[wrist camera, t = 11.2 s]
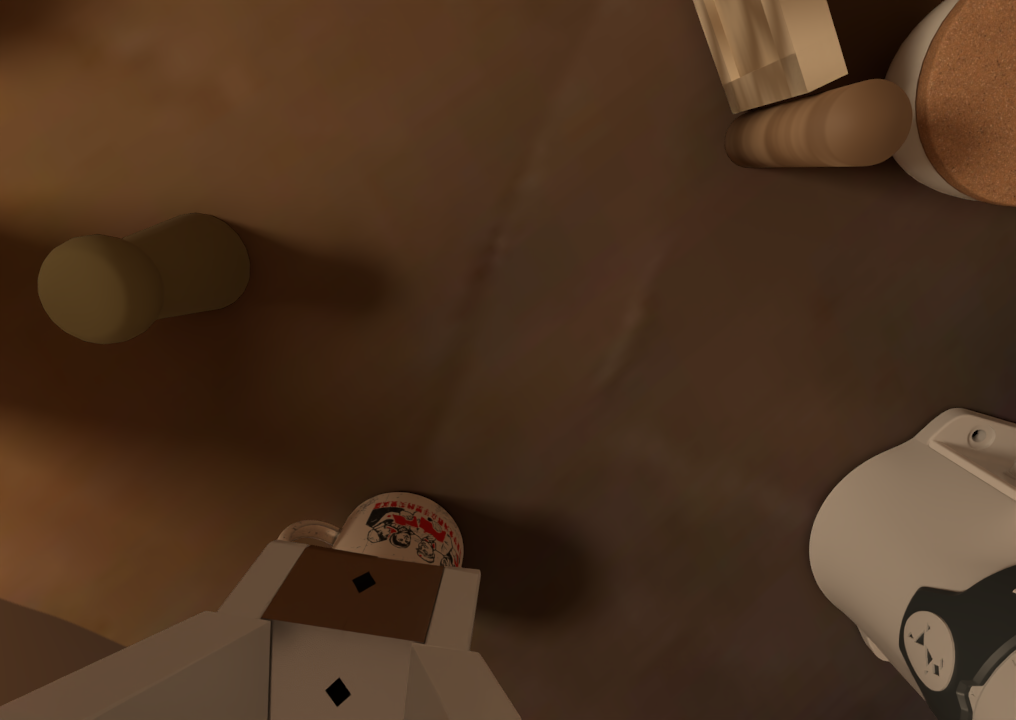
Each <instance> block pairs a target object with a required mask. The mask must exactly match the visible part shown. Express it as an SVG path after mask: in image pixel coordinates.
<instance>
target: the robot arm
mask: <svg viewBox="0 0 1016 720" xmlns="http://www.w3.org/2000/svg"><path fill="white" fill-rule="evenodd" d="M976 430H978V433H977V434H976V435H975V436H974V437H972V434H973V433H974V432H975V431H976ZM809 556H810V564H811V568H812V572H813V575H814V577H815V580H816V582H817V584H818V586H819V587H820V589H821V590H822V592H823V593H824V595H825V596H826V597H827V598H828V599H829V600H830V601H831V602H832V603H833V604H834V605H835V606H836V607H837V608H838V609H840V610H841V611H842V612H843V613H844V614H845V615H847V616H848V617H849V618H850V619H851V620H852V621H853V622H854V623H855V624H856V625H857V626H858V629H859V631H860V633H861V635H862V638H863V639H864V641H865V643H866V644H867V646H868V647H869V648H870V649H871V650H872V652H873V653H874V654H875V655H876V656H877V657H878V658H880V659H881V660H884V661H890V662H891V664H892V665H893V666H894V667H895V668H896V669H897V670H898V671H899V672H900V673H901V675H902V676H903V677H904V678H905V679H906V680H907V681H908V682H909V683H910V685H911V686H912V687H913V688H914V689H915V690H916V691H917V692H918V693H919V694H920V696H921V697H922V698H923V699H924V700H925V701H926V702H927V704H928V706H929V708H930V709H931V711H932V712H933V713H934V715H935V716H936V717H937V719H938V720H1016V424H1015V423H1011V422H1008V421H1005V420H1001V419H998V418H995V417H991V416H988V415H985V414H981V413H978V412H974V411H971V410H968V409H964V408H953V409H949V410H947V411H945V412H943V413H942V414H940V415H939V416H937V417H936V418H935V419H934V420H932V421H931V422H930V423H929V424H928V425H927V426H926V427H924V428H923V429H922V430H921V431H920V432H919V433H918V434H917V435H916V436H915V437H914V438H912V439H911V440H909V441H907V442H905V443H903V444H901V445H899V446H897V447H894V448H892V449H890V450H887V451H885V452H883V453H881V454H879V455H877V456H875V457H873V458H871V459H869V460H867V461H866V462H864V463H863V464H861V465H860V466H858V467H857V468H856V469H854V470H853V471H852V472H850V473H849V474H848V475H847V476H846V477H845V478H843V479H842V480H841V481H840V482H839V483H838V485H837V486H836V487H835V488H834V489H833V490H832V492H831V493H830V494H829V495H828V497H827V498H826V500H825V501H824V503H823V505H822V506H821V508H820V510H819V512H818V514H817V516H816V519H815V521H814V524H813V528H812V532H811V536H810V545H809ZM480 577H481V572H480V570H478V569H470V568H461V567H452V566H446V567H444V566H437V565H430V564H423V563H416V562H409V561H401V560H394V559H387V558H380V557H378V556H372V555H367V554H361V553H355V552H349V551H344V550H338V549H332V548H326V547H321V546H315V545H310V546H309V545H307V544H303V543H296V542H289V541H283V540H274V541H272V542H270V543H269V544H268V545H267V546H266V547H265V549H264V550H263V551H262V553H261V554H260V555H259V557H258V558H257V559H256V561H255V562H254V563H253V565H252V566H251V567H250V569H249V570H248V571H247V572H246V574H245V575H244V576H243V578H242V579H241V580H240V582H239V583H238V584H237V586H236V587H235V588H234V590H233V591H232V592H231V594H230V595H229V596H228V598H227V599H226V600H225V602H224V603H223V604H222V605H221V607H220V608H219V609H218V611H217V612H209V611H204V612H202V613H200V614H198V615H196V616H193V617H191V618H189V619H187V620H185V621H183V622H181V623H178V624H176V625H174V626H172V627H170V628H168V629H166V630H163V631H161V632H159V633H157V634H155V635H153V636H151V637H148V638H146V639H144V640H142V641H140V642H138V643H136V644H133V645H131V646H129V647H127V648H125V649H123V650H120V651H118V652H116V653H114V654H112V655H110V656H108V657H106V658H104V659H101V660H99V661H97V662H95V663H93V664H91V665H88V666H87V667H84V668H82V669H80V670H78V671H76V672H73V673H71V674H69V675H67V676H65V677H63V678H60V679H58V680H56V681H54V682H52V683H50V684H48V685H45V686H43V687H41V688H39V689H37V690H35V691H33V692H30V693H28V694H27V695H24V696H22V697H20V698H18V699H15V700H13V701H11V702H9V703H7V704H5V705H3V706H0V720H522V719H521V717H520V716H519V714H518V713H517V711H516V710H515V708H514V706H513V705H512V703H511V702H510V700H509V699H508V697H507V695H506V694H505V692H504V691H503V689H502V688H501V686H500V684H499V683H498V681H497V680H496V678H495V677H494V675H493V673H492V672H491V670H490V669H489V667H488V666H487V664H486V662H485V661H484V659H483V658H482V656H481V655H480V653H477V652H471V651H470V647H471V640H472V633H473V626H474V619H475V612H476V605H477V598H478V591H479V584H480Z"/></svg>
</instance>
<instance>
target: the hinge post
mask: <svg viewBox="0 0 1016 720" xmlns="http://www.w3.org/2000/svg"><path fill="white" fill-rule="evenodd" d="M912 116H913V115H912V106H911V103H910V100H909V98H908V96H907V94H906V93H905V92H904V90H903V89H902V88H901V87H900V86H898V85H897V84H895V83H893V82H891V81H888V80H884V79H870V80H866V81H862V82H858V83H854V84H851V85H847V86H843V87H840V88H836V89H832V90H829V91H825V92H821V93H818V94H814V95H810V96H807V97H803V98H799V99H796V100H792V101H788V102H785V103H781V104H777V105H774V106H770V107H766V108H763V109H759V110H755V111H752V112H748V113H745V114H743V115H741V116H739V117H738V118H736V119H735V120H734V121H733V122H732V123H731V125H730V126H729V128H728V130H727V133H726V136H725V150H726V153H727V155H728V157H729V158H730V159H731V161H732V162H734V163H735V164H736V165H738V166H741V167H745V168H770V167H848V166H871V165H875V164H878V163H881V162H883V161H885V160H887V159H888V158H890V157H891V156H892V155H893V154H895V153H896V152H897V151H898V150H899V149H900V147H901V146H902V145H903V143H904V142H905V140H906V138H907V136H908V134H909V132H910V129H911V124H912Z"/></svg>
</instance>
